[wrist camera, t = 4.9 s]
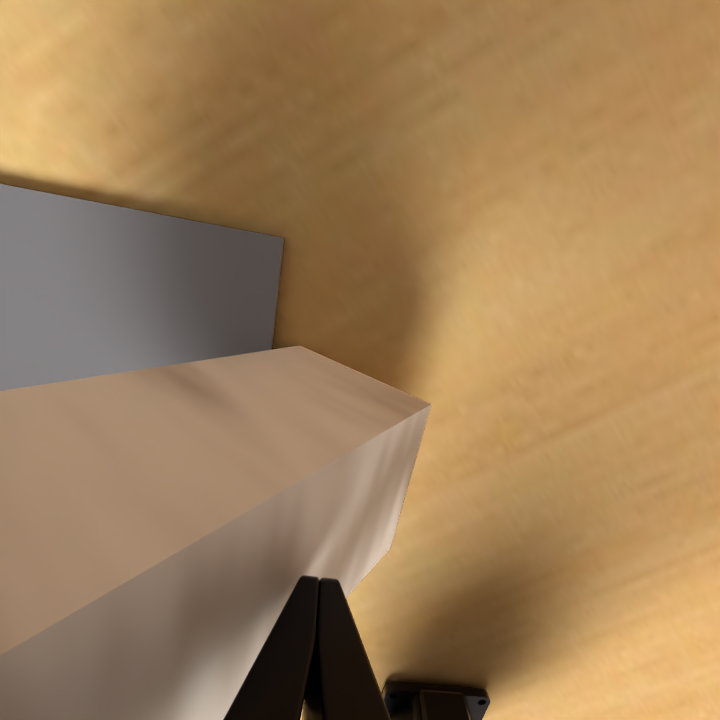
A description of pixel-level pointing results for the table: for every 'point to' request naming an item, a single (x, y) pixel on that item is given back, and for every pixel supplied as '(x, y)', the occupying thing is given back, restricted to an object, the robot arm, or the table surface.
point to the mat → (125, 289)
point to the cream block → (184, 524)
